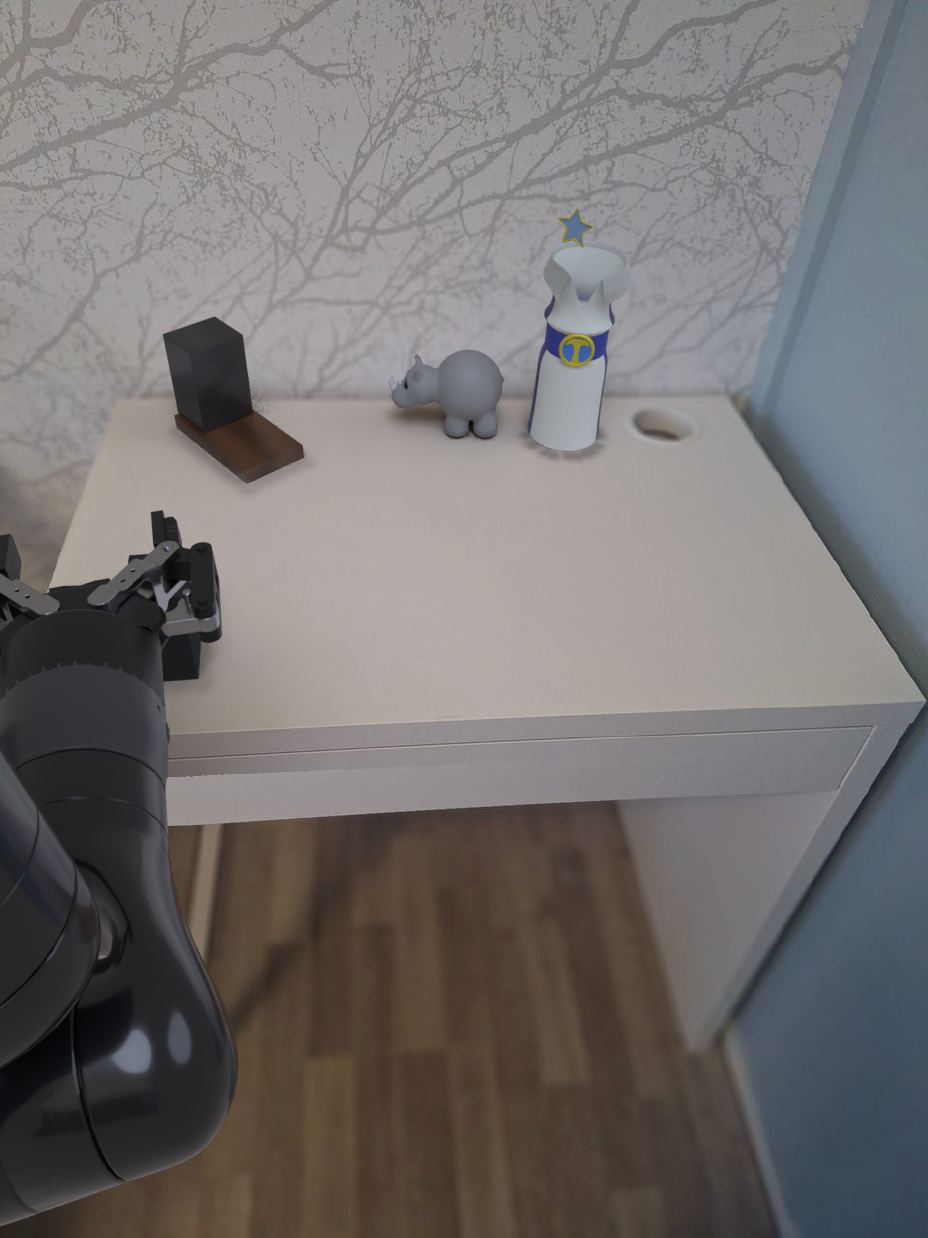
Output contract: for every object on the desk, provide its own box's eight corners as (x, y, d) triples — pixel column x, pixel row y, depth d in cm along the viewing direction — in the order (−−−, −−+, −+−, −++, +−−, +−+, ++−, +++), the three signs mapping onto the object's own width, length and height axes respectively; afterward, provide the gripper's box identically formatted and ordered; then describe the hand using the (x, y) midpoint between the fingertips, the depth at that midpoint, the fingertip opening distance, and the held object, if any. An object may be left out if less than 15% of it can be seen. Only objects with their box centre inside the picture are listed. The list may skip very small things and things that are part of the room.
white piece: (604, 457, 97) (649, 216, 79) (523, 449, 97) (551, 208, 80) (603, 414, 103) (645, 182, 85) (527, 407, 103) (553, 174, 86)
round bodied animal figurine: (391, 403, 102) (391, 332, 96) (499, 408, 103) (505, 338, 97) (387, 440, 97) (386, 367, 91) (499, 445, 98) (506, 373, 92)
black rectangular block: (146, 683, 72) (121, 600, 66) (151, 637, 76) (128, 554, 69) (198, 678, 73) (179, 596, 66) (201, 633, 76) (183, 551, 70)
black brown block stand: (247, 483, 91) (233, 389, 83) (176, 427, 97) (157, 335, 90) (304, 457, 94) (296, 365, 87) (232, 404, 101) (219, 314, 93)
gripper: (223, 640, 42) (196, 461, 54) (-120, 705, 39) (-69, 500, 50) (248, 749, 47) (218, 563, 58) (-54, 815, 44) (-22, 605, 55)
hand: (85, 534), depth 54 cm, fingers open, 8 cm apart
